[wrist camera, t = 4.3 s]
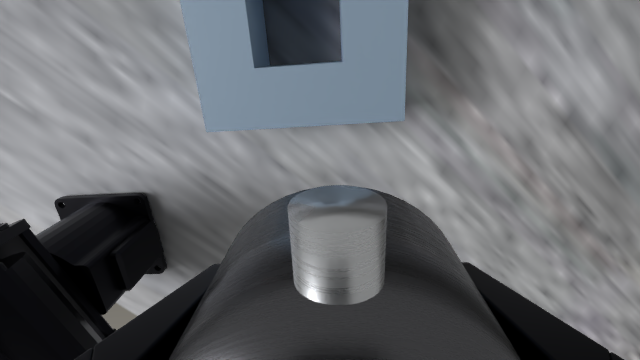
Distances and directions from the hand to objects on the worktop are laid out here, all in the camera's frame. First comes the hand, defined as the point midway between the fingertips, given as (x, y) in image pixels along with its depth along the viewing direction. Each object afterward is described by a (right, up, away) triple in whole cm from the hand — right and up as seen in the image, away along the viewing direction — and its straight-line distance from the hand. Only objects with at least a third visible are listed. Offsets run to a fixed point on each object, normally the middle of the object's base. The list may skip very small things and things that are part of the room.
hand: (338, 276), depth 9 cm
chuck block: (-1, +11, +9) cm, 15 cm away
